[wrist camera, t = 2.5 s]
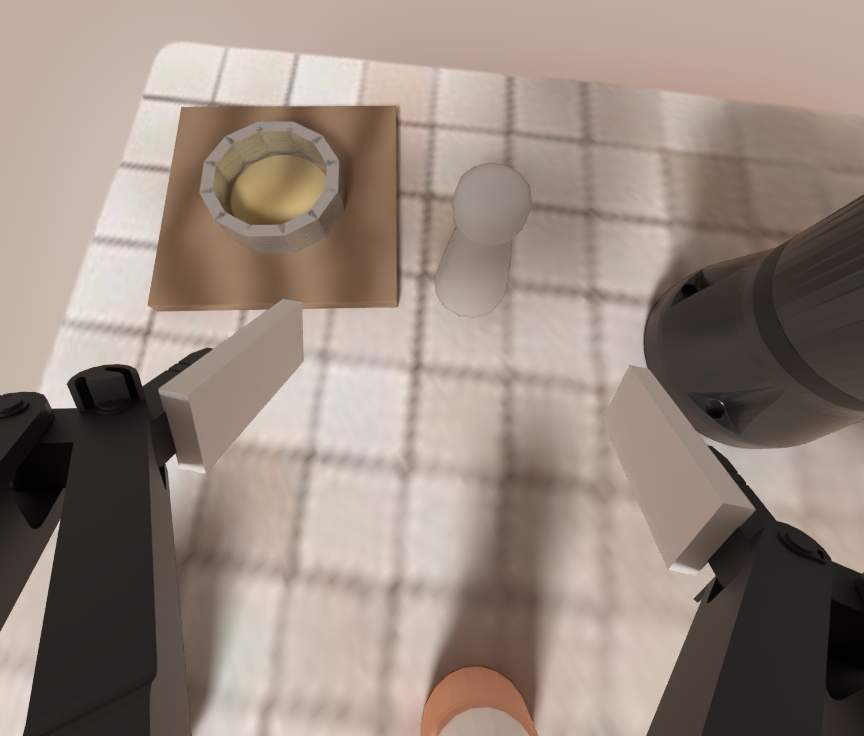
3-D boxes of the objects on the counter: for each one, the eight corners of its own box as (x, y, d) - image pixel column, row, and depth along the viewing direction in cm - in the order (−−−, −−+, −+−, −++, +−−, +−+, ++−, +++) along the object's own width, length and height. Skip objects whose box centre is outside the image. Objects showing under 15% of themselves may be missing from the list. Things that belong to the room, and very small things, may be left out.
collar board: (396, 117, 36) (393, 80, 33) (397, 307, 32) (394, 287, 28) (189, 118, 36) (163, 80, 32) (157, 311, 31) (123, 291, 28)
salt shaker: (421, 283, 32) (419, 168, 20) (477, 253, 33) (510, 125, 20) (456, 338, 31) (478, 254, 18) (513, 307, 32) (572, 205, 19)
